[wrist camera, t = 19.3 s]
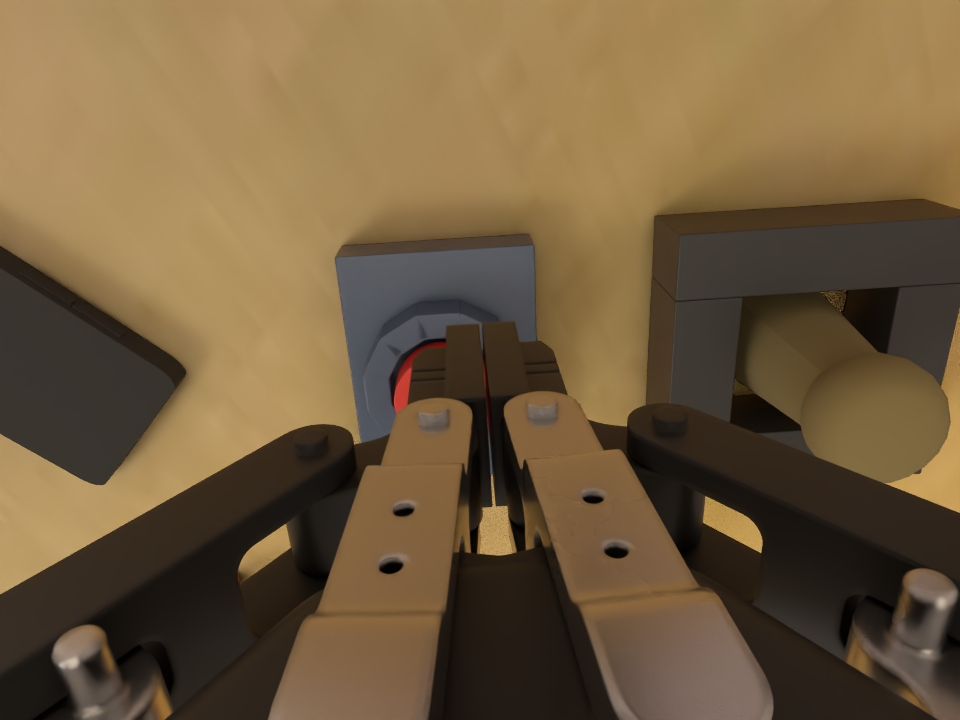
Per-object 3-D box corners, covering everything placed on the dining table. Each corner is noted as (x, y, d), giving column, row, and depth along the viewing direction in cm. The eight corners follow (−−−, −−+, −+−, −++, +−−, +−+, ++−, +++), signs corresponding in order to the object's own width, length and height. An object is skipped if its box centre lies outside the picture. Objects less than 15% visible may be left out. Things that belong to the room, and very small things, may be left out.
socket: (654, 215, 33) (679, 234, 29) (923, 198, 33) (982, 215, 29) (643, 450, 38) (663, 491, 34) (876, 434, 38) (920, 474, 35)
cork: (846, 350, 36) (999, 462, 26) (740, 405, 37) (848, 533, 27) (806, 254, 34) (956, 336, 24) (695, 315, 35) (793, 418, 25)
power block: (341, 245, 33) (327, 268, 29) (529, 233, 33) (539, 255, 29) (371, 460, 38) (362, 503, 34) (535, 449, 38) (544, 491, 34)
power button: (392, 344, 31) (388, 359, 30) (489, 337, 31) (491, 353, 30) (401, 429, 33) (399, 448, 31) (493, 423, 33) (496, 442, 31)
